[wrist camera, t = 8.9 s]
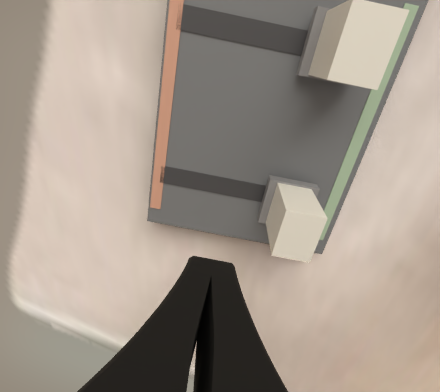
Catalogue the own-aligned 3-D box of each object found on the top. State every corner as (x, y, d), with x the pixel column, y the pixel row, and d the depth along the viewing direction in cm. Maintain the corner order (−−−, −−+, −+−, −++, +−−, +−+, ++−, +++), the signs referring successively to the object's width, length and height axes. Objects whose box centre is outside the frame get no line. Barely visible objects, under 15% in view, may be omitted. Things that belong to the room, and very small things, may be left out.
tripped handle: (316, 184, 16) (337, 218, 12) (302, 225, 17) (317, 266, 14) (269, 175, 16) (277, 206, 12) (257, 216, 17) (262, 256, 13)
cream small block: (374, 21, 12) (423, 9, 9) (351, 85, 13) (387, 95, 10) (314, 8, 12) (342, -9, 9) (296, 74, 13) (314, 80, 10)
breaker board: (416, -14, 13) (438, -22, 12) (316, 240, 19) (322, 254, 18) (181, -66, 13) (174, -80, 12) (153, 209, 19) (146, 221, 18)
